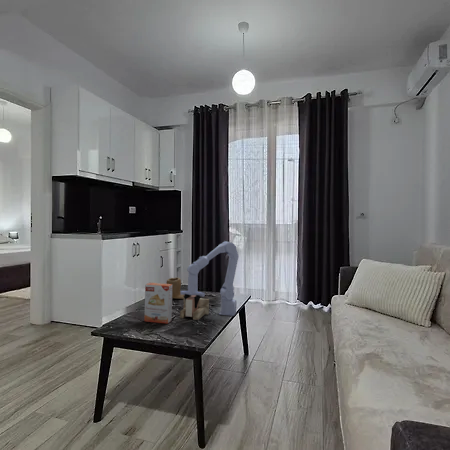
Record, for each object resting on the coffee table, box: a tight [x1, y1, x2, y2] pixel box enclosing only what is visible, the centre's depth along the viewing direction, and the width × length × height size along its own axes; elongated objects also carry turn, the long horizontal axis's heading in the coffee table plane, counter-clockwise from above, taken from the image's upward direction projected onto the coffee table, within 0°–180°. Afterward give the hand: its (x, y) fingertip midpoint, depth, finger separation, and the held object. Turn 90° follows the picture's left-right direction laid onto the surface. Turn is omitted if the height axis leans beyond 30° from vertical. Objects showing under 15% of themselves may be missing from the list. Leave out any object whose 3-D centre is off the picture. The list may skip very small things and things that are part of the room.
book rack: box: [179, 297, 210, 321], centre depth 189 cm, size 16×14×9 cm
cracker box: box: [143, 282, 173, 325], centre depth 177 cm, size 14×6×21 cm, turn 79°
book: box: [186, 295, 198, 318], centre depth 188 cm, size 4×10×10 cm, turn 165°
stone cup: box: [165, 276, 185, 300], centre depth 230 cm, size 15×12×15 cm
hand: (192, 307), depth 189 cm, fingers closed on book, 4 cm apart
